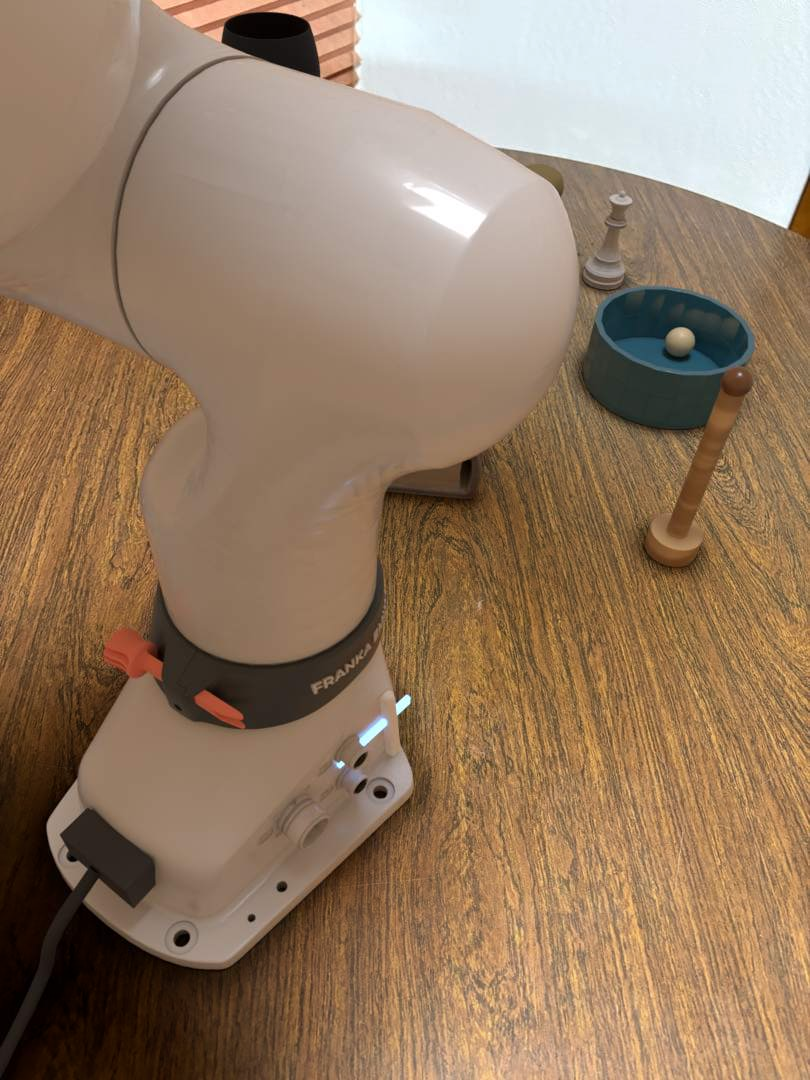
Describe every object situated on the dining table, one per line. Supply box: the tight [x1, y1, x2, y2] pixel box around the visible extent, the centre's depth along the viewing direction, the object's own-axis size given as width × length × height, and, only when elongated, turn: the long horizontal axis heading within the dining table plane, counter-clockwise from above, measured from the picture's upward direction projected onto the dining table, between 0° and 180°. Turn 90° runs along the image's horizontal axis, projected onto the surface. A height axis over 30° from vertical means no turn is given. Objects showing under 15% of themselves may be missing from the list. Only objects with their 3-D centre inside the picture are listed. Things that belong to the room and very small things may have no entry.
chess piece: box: [582, 189, 633, 291], centre depth 91 cm, size 4×4×10 cm
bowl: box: [582, 285, 756, 430], centre depth 80 cm, size 14×14×6 cm
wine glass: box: [220, 11, 321, 78], centre depth 94 cm, size 10×10×20 cm
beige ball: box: [665, 327, 695, 357], centre depth 83 cm, size 3×3×3 cm
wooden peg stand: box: [644, 366, 755, 568], centre depth 61 cm, size 4×4×17 cm
